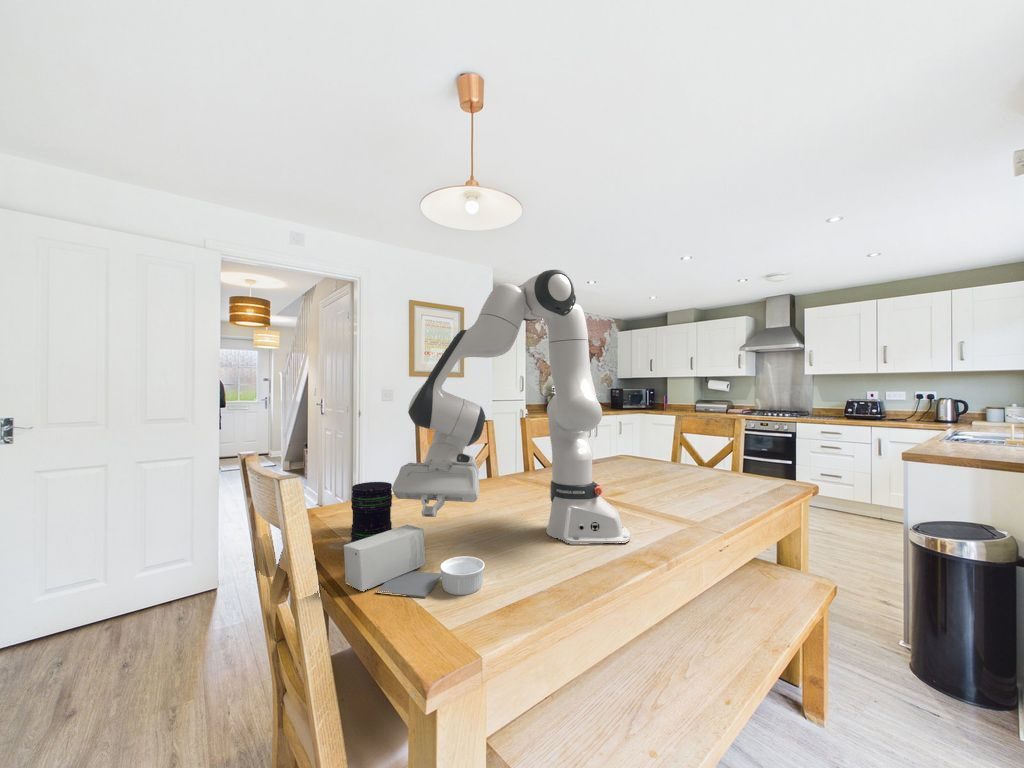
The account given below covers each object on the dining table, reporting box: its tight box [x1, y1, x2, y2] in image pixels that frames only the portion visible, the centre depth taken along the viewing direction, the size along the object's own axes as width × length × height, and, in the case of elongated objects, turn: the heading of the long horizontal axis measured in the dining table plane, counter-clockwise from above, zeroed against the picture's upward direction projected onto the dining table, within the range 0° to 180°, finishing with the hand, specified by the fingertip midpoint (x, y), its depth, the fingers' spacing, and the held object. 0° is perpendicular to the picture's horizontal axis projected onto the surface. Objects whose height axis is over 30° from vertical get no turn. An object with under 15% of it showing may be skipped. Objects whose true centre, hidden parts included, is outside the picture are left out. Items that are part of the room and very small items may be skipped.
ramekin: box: [439, 555, 486, 596], centre depth 84 cm, size 9×9×4 cm
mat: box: [376, 570, 442, 599], centre depth 84 cm, size 10×10×1 cm
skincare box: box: [343, 524, 426, 592], centre depth 88 cm, size 8×7×16 cm
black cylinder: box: [350, 481, 393, 543], centre depth 106 cm, size 10×10×15 cm
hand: (428, 515), depth 93 cm, fingers closed
